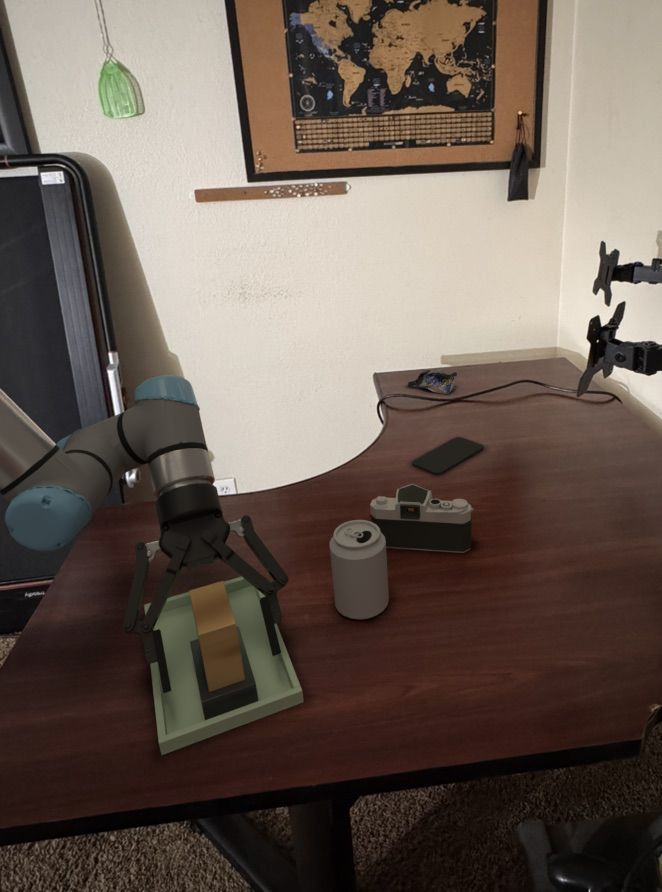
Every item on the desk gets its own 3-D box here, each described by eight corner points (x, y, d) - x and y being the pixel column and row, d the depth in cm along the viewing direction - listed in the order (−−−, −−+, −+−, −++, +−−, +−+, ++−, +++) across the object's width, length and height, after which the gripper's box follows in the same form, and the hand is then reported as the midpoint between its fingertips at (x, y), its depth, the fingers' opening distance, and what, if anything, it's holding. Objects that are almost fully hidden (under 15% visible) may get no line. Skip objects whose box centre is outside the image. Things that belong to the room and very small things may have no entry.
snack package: (415, 400, 156) (461, 393, 157) (413, 375, 154) (459, 368, 156) (405, 391, 167) (448, 385, 169) (403, 367, 166) (446, 361, 168)
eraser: (193, 660, 78) (179, 587, 74) (241, 644, 80) (230, 573, 76) (205, 722, 69) (189, 644, 66) (258, 703, 72) (247, 626, 68)
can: (377, 629, 82) (373, 552, 78) (326, 617, 85) (318, 542, 81) (396, 593, 89) (393, 520, 85) (347, 583, 91) (342, 512, 87)
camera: (474, 526, 103) (475, 472, 100) (472, 558, 95) (472, 501, 92) (379, 520, 106) (376, 468, 103) (369, 551, 98) (366, 496, 95)
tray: (146, 616, 87) (144, 604, 86) (258, 583, 92) (256, 571, 92) (162, 757, 66) (158, 743, 66) (304, 704, 72) (302, 690, 71)
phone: (409, 462, 123) (457, 435, 133) (409, 465, 124) (457, 439, 133) (438, 474, 118) (486, 445, 128) (438, 478, 119) (486, 449, 128)
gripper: (275, 478, 86) (319, 641, 79) (87, 524, 78) (114, 710, 70) (281, 460, 80) (329, 635, 72) (76, 507, 72) (105, 711, 64)
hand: (223, 672), depth 71 cm, fingers open, 12 cm apart
